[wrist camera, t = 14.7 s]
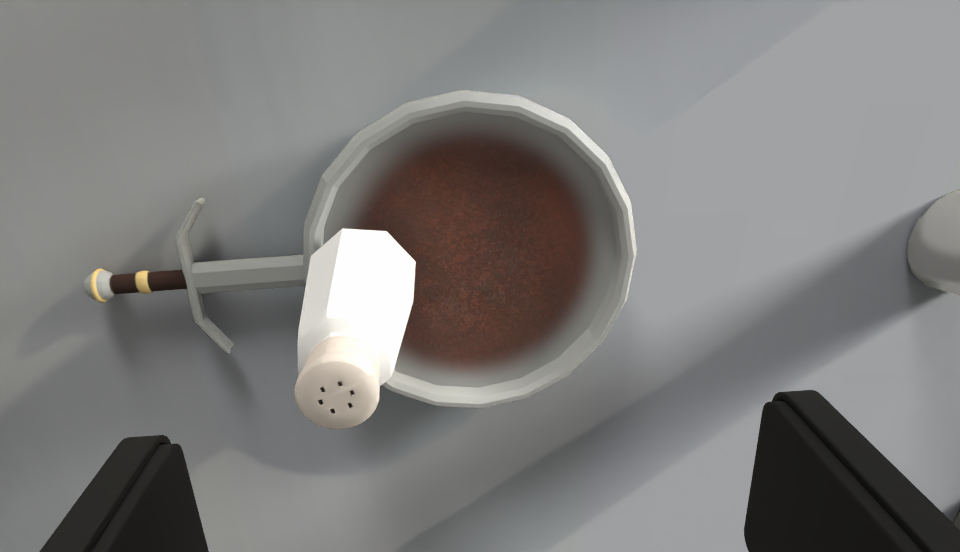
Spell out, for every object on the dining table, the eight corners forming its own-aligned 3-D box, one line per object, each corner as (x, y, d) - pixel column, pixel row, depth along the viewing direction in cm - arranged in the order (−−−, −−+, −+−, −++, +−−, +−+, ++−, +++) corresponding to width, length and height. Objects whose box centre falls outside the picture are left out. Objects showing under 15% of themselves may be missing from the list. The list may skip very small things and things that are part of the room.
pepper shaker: (332, 340, 32) (292, 484, 22) (289, 245, 30) (223, 354, 20) (433, 308, 32) (439, 437, 22) (396, 209, 30) (385, 302, 20)
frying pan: (15, 117, 28) (651, 80, 29) (52, 109, 30) (632, 76, 32) (116, 445, 34) (636, 403, 35) (139, 414, 37) (622, 376, 38)
